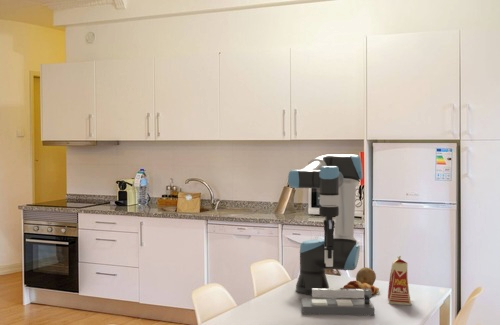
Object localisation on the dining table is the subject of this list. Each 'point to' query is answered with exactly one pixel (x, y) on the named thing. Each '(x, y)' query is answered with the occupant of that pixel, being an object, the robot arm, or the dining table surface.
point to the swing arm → (342, 293)
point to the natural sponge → (366, 276)
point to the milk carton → (399, 283)
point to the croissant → (360, 286)
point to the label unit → (338, 306)
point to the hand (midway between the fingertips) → (328, 264)
